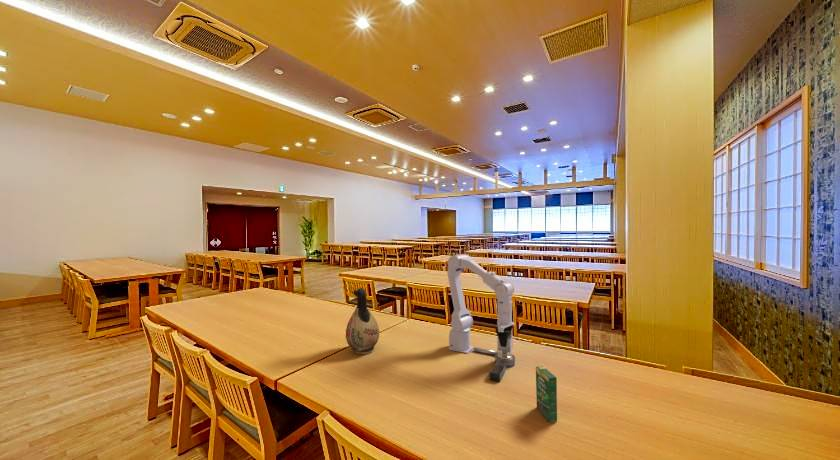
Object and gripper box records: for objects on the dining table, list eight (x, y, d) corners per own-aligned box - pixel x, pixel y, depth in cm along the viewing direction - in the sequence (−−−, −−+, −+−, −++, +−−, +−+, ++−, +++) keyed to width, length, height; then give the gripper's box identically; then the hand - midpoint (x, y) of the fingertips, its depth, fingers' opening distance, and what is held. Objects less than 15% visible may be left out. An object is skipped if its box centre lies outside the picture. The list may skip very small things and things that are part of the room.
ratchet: (484, 378, 116) (484, 361, 116) (497, 357, 134) (497, 343, 134) (505, 383, 112) (505, 366, 112) (516, 361, 130) (516, 346, 130)
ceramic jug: (342, 347, 147) (341, 285, 146) (374, 342, 153) (373, 282, 153) (350, 362, 131) (349, 292, 131) (385, 355, 138) (384, 288, 137)
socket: (497, 350, 127) (497, 337, 127) (500, 346, 132) (500, 333, 132) (510, 352, 125) (510, 339, 125) (512, 348, 129) (512, 335, 129)
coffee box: (535, 406, 98) (535, 365, 98) (543, 405, 98) (543, 365, 98) (548, 422, 90) (548, 378, 90) (557, 422, 90) (557, 377, 90)
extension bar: (472, 351, 141) (472, 347, 140) (473, 350, 142) (473, 346, 142) (500, 357, 135) (500, 353, 134) (501, 355, 136) (501, 351, 136)
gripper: (510, 317, 120) (511, 352, 120) (517, 308, 133) (518, 339, 133) (492, 315, 123) (493, 348, 123) (501, 306, 136) (501, 337, 136)
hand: (504, 344), depth 128 cm, fingers closed on socket, 5 cm apart
